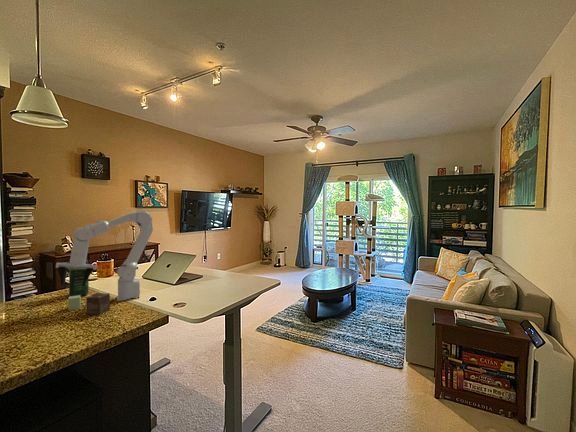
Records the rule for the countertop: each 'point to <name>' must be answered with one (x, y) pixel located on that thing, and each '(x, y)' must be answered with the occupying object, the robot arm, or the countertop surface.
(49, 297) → the countertop surface
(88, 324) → the countertop surface
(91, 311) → the box
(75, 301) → the sage block
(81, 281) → the coffee jar
